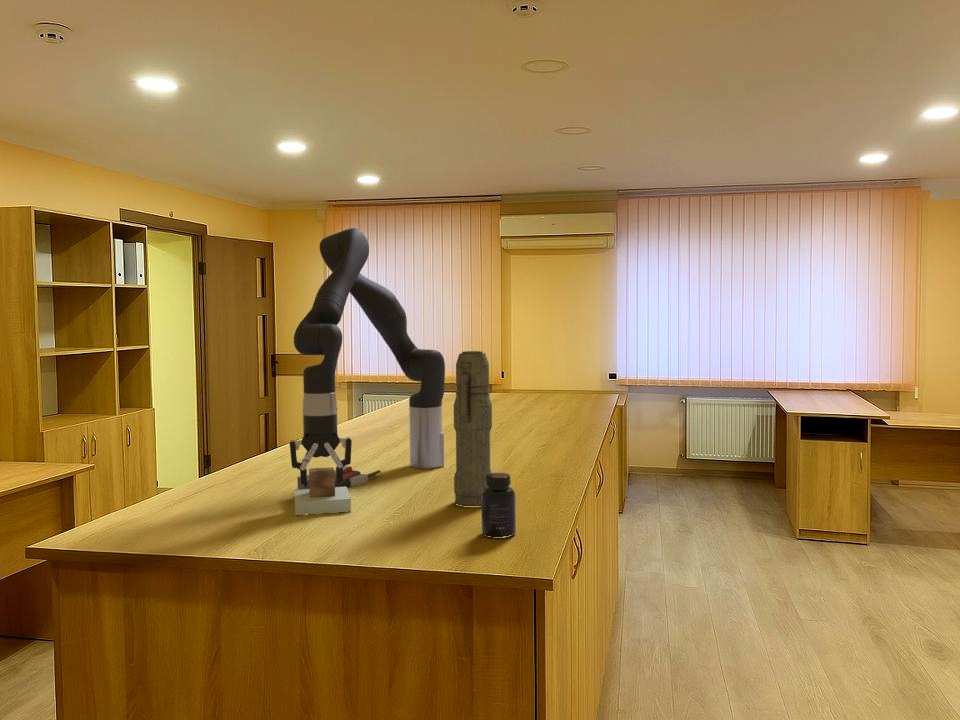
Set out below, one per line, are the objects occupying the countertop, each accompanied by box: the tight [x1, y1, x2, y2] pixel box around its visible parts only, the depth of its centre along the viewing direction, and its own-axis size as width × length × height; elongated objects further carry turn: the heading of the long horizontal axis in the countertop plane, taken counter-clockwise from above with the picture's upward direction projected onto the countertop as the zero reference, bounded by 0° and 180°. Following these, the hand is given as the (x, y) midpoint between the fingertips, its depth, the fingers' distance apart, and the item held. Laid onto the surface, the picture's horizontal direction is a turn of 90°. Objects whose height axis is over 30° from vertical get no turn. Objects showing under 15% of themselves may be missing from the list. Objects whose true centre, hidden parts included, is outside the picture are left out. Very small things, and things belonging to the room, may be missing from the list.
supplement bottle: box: [480, 472, 517, 537], centre depth 152 cm, size 7×7×12 cm
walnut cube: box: [308, 466, 335, 498], centre depth 174 cm, size 6×6×6 cm
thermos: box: [453, 350, 493, 506], centre depth 176 cm, size 9×12×35 cm
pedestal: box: [294, 487, 352, 516], centre depth 175 cm, size 12×12×3 cm
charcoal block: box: [296, 474, 309, 490], centre depth 184 cm, size 5×5×5 cm
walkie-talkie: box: [334, 465, 382, 488], centre depth 199 cm, size 9×4×20 cm
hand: (321, 484), depth 174 cm, fingers open, 6 cm apart
